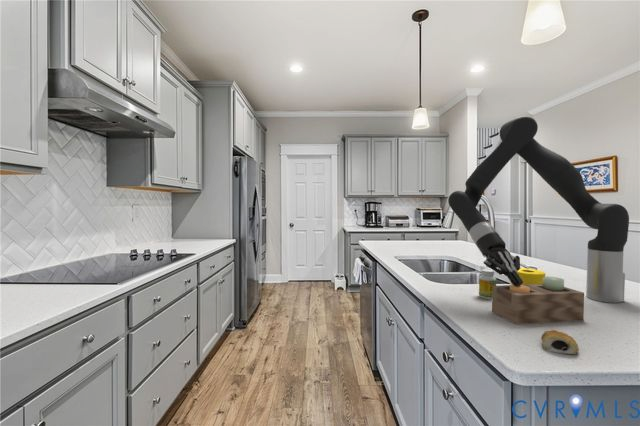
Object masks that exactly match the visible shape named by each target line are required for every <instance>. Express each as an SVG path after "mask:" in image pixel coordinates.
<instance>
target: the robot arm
mask: <svg viewBox="0 0 640 426" xmlns="http://www.w3.org/2000/svg"><path fill="white" fill-rule="evenodd" d="M538 127H539V126H538V123H537V121H536V120H535V118H533V117H531V116H529V115H528V116H527V115H523V116H518V117H516V118H515V117H514V118H513V119H512V120H509V121H507V122H505V123H504V124H503V125H501V127H500V129H499V139H500V140H501V142H500V143H499V145H498V146H496V148H495V149H494V150H493V151H492V152H491V153H490V154H489V155H488V156H487V157H486V158H485V159H483V161H481V162H480V163H479V165H478V166H477V167H476V168H475V169H474V171H473V172H472V173H470V174H471V175H470V176H468V178H467V180H466V182H465V191H463V190H456V191H455V190H454V191H453V192H452V193H451V194H450V195H449V196H448V198H447V199H448V202H447V203H448V206H449V207H450V208H451V210H452V211H453V212H454V214H456V216H457V218H458V219H459V220H460V221H461V223H462V224H463V226H464V228H465V230H466V231H467V232H468V234H469V236H470V237H471V239H472V241H473V243H474V244H475V246H476V247H477V249H478V250H479V251H480V253H481V255H482V256H484V257H485V258H486V259H484V261H483V264H484V265H485V266H486V267H488V268H490V270H493V271H494V273H497V274H498V275H500V276H502V275H504V276H505V277H507V278H508V280H509V282H510V284H511V283H512V284H513V285H514V286H520V285H522V284H523V281H522V279H521V278H520V276H519V275H518V274H517V271H518V270H520V268H521V257H520V256H519V255H515V256H514V255H512V254H511V252H510V251H508V250H507V249H506V242H505V241H504V239H503V238H502V237H501V235H500V234H499V233H498V231H497V230H496V228H494V226H493V225H492V224H490V223H489V221H488V220H487V218H486V217H485V215H483V213H482V212H481V211H480V210H479V209H478V208H477V206H478V204H479V202H480V201H481V198H482V196H483V194H484V193H485V191H486V190H487V189H488V188H489V187H490V185H491V184H492V182H493V181H494V180H495V179H496V177H497V176H498V174H500V172H501V171H502V170H503V169H504V167H505V166H506V165H507V164H508V163H509V162H510V161H511V160H512V159H513V158H514V157H515V155H518V156H519V157H521V159H522V160H524V161H525V162H526V163H527V164H528V165H529V166H530V167H531V168H532V169H533V170H534V172H536V173H537V174H538V176H540V177H541V179H542V180H544V181H545V182H546V183H547V184H548V185H549V187H550V188H552V189H553V190H554V191H555V192H556V193H558V195H559V196H560V197H561V198H562V199H563V200H564V201H565V202H566V203H568V204H569V206H571V208H572V209H573V211H574V212H575V213H576V214H577V215H578V217H579V218H580V219H581V221H583V223H584V224H585V225H587V226H588V228H590V229H591V228H592V229H593V230H597V235H596V237H594V238H592V239H590V240H589V241H587V260H586V261H587V262H586V292H585V293H586V295H585V296H586V297H587V298H589V299H590V300H591V299H592V300H595V301H598V302H599V301H600V302H606V303H617V304H618V303H622V302H623V301H625V290H626V289H625V286H626V284H625V283H626V281H625V280H626V274H625V272H624V248H625V246H626V244H627V242H628V238H629V237H628V236H629V228H630V227H629V226H630V225H629V224H630V216H629V215H630V214H629V212H628V210H627V209H626V207H625V206H623V205H621V204H618V203H602V202H600V201H598V200H597V199H596V198H595V197H594V196H592V195H591V194H590V193H589V192H588V190H587V189H586V186H585V182H584V179H583V176H582V173H581V172H580V170H578V168H577V167H576V166H574V165H573V164H572V163H571V162H570V160H569V159H567V158H565V157H564V156H562V155H560V154H559V153H558V152H555V151H553V150H551V149H549V148H547V147H545V146H544V145H542V144H540V143H539V142H538V141H537V140H536V139H535V138H534V137H535V136H536V135H537V133H538Z"/></svg>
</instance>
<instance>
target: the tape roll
mask: <svg viewBox="0 0 640 426" xmlns="http://www.w3.org/2000/svg"><path fill="white" fill-rule="evenodd" d="M517 274H518V275H519V276H520V278H521V279H522V281H523V284H522V285H532V284H543V277H546V272H545V271H542V270H539V269H536V268H535V269H534V268H523V267H520V270H518V271H517ZM510 285H513V284H512V283H511V282H510Z"/></svg>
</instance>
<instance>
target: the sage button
mask: <svg viewBox="0 0 640 426" xmlns="http://www.w3.org/2000/svg"><path fill="white" fill-rule="evenodd" d="M564 287H565V278H564V279H563V278H561V277H555V276H545V277H543V288H545V289H548V290H554V291H563V290H564Z"/></svg>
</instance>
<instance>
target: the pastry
mask: <svg viewBox="0 0 640 426" xmlns="http://www.w3.org/2000/svg"><path fill="white" fill-rule="evenodd" d="M540 339H541V341H542V344H541V345H542V347H543V349H544V350H546V351H549V352H553V353H558V354H564V355H571V356H572V355H576V354H577V353H578V352H579V351H580V348H579V345H578V343H577V342H576V340H575V339H574V338H573V337H572V336H571V335H569V334H567V333H565V332H562V331H558V330H557V329H550V330H545V331H544V332H543V333H542V335H541V337H540Z"/></svg>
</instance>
